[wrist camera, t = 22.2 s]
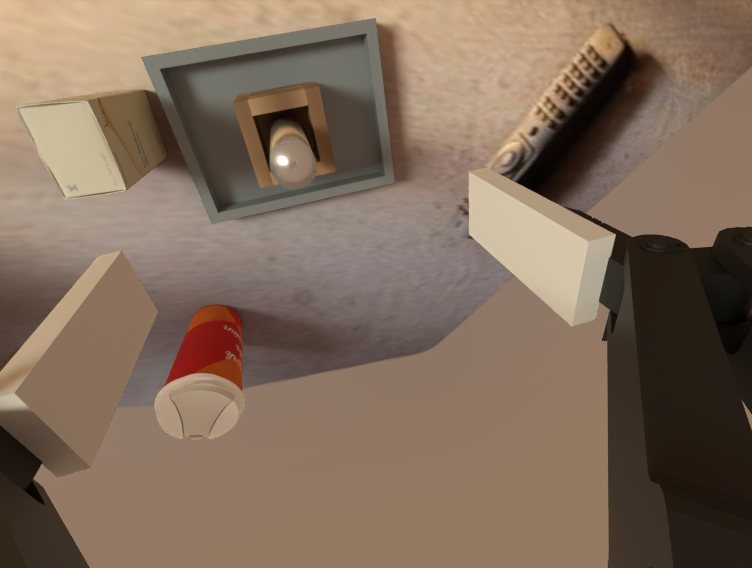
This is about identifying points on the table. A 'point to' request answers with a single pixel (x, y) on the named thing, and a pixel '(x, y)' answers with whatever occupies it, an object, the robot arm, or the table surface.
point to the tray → (266, 71)
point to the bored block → (266, 104)
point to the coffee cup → (205, 378)
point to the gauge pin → (290, 153)
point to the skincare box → (95, 141)
